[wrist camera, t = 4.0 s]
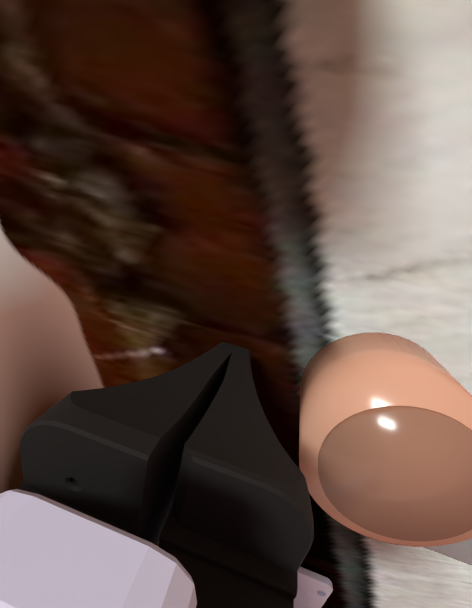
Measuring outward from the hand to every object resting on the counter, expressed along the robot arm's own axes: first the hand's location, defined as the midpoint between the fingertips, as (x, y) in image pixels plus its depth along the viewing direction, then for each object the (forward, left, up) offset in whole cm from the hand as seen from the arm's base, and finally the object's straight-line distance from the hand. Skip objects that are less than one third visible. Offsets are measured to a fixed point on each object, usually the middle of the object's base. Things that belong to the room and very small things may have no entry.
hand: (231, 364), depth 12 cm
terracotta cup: (0, -6, -1) cm, 6 cm away
